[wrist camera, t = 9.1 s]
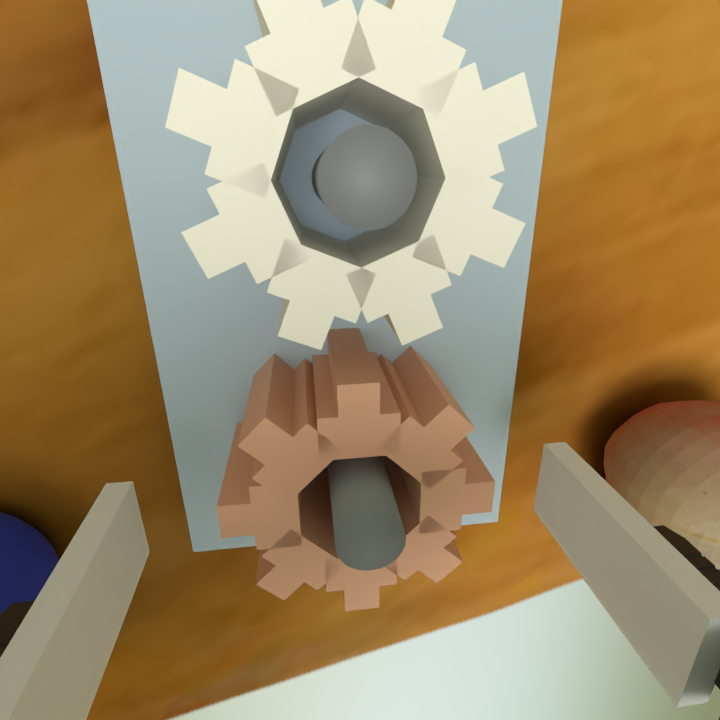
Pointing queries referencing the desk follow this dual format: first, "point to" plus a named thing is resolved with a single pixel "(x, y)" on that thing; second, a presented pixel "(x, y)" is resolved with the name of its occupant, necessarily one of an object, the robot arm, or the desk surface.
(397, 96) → the gear
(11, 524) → the mug
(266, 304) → the gear board
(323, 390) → the loose gear
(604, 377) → the desk surface
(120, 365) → the desk surface
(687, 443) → the fruit
